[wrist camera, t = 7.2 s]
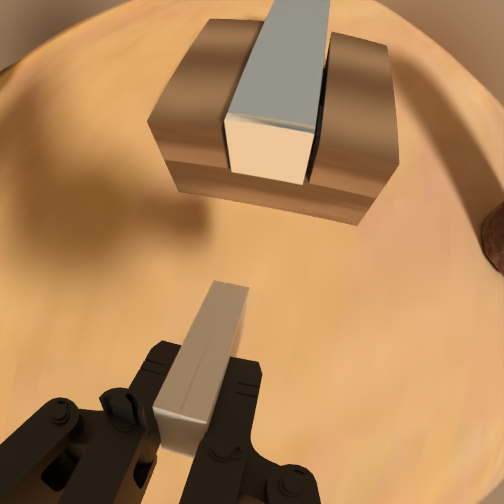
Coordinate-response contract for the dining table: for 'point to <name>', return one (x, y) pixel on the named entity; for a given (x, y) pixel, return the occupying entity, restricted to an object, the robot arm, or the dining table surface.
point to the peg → (279, 93)
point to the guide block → (325, 137)
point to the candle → (495, 237)
